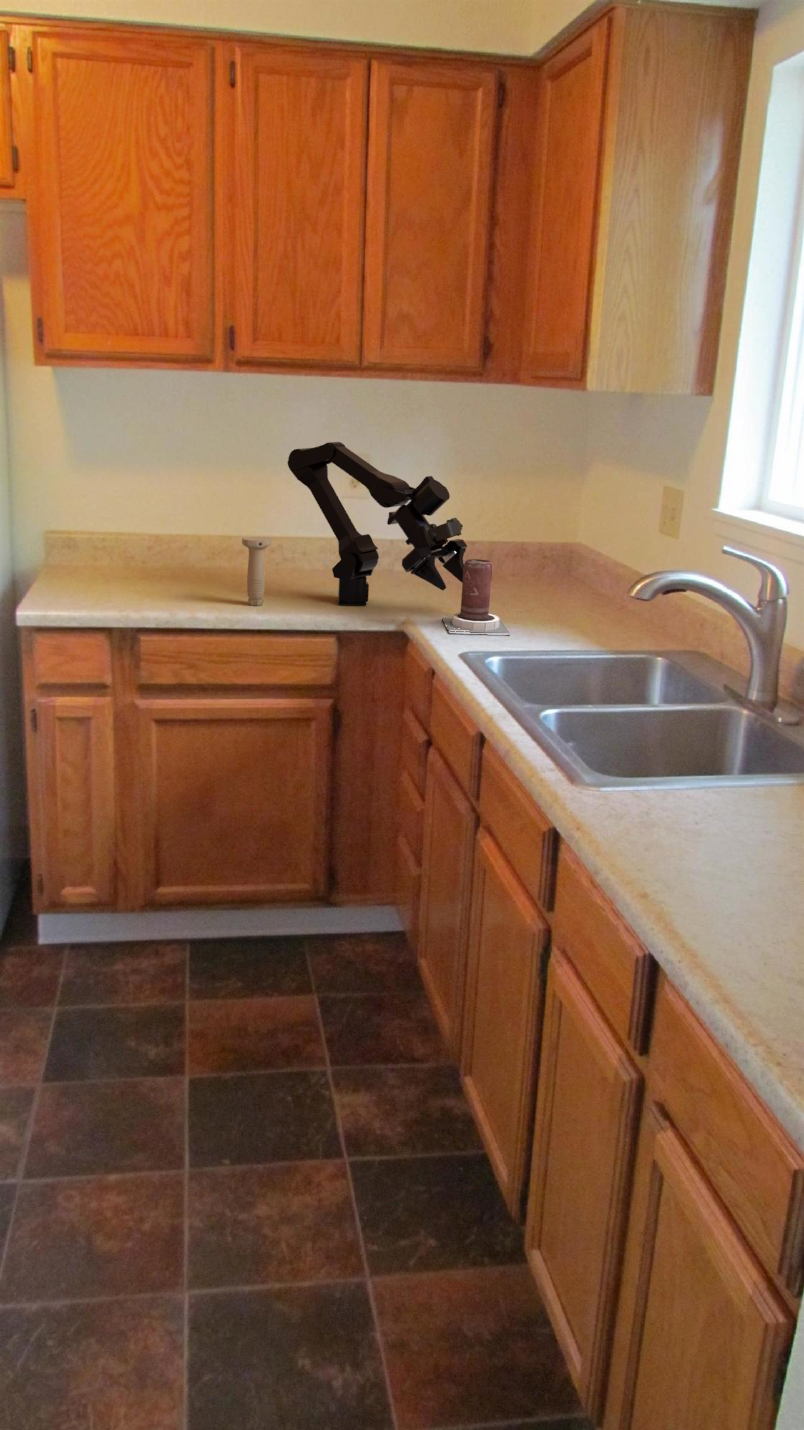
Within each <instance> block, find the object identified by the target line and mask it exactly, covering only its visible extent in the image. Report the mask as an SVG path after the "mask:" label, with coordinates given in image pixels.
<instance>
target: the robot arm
mask: <svg viewBox="0 0 804 1430" xmlns="http://www.w3.org/2000/svg"><path fill="white" fill-rule="evenodd" d="M287 460H288V461H287V467H288V468H289V471H291V473H292V474H293V476H294V478H296V480H298V481H299V482H300V483H302V484H303V485H304V486H306V487H307V488H308V490H309V491H310V493H311V494H312V496H313V498H314V500H315V501H316V504H317V505H318V507H319V509H320V510H321V513H322V514H323V516H324V518H325V519H326V521H327V523H328V525H329V527H330V529H331V530H332V532H333V534H334V535H335V538H336V539H337V543H338V556H339V558H340V560H339V561H338V562H337V563H336V564H335V565H334V566H333V567H332V569H331V571H332V575H333V578H335V579H338V589H337V591H338V593H337V597H336V598H337V604H338V605H339V606H362V607H363V606H367V603H368V602H369V593H370V591H369V589H370V585H369V582H368V581H367V577H370V576H372V574H373V572H374V569H375V568H376V567H377V565H378V562H379V557H380V555H379V553H378V551H377V550H379V547H378V546H376V544H375V543H374V540H373V538H372V537H371V535H370V534H369V533H366V534H361V533H360V532H359V531H358V530H357V529H356V526H355V525H354V524H353V521H352V520H351V518H350V516H349V514H348V512H347V510H346V509H345V507H344V505H343V503H342V501H341V500H340V498H339V496H338V495H337V493H336V491H335V489H334V487H333V485H332V484H331V482H330V480H329V477H328V475H329V474H328V473H329V472H328V470H329V469H328V465H331V464H334V465H335V466H336V467H338V468H339V469H341V471H343V472H345V473H346V474H348V476H350V477H351V478H353V479H354V480H356V481H357V482H359V484H361V485H363V486H364V487H365V488H366V489H367V490H368V492H369V494H370V496H371V497H372V499H373V500H374V502H376V503H377V504H378V505H379V506H381V507H382V508H385V509H387V508H394V507H398V508H397V509H396V510H395V511H389V512H388V518H387V521H386V524H387V525H388V526H390V525H396V524H398V526H399V527H400V529H401V530H402V532H403V533H404V536H406V538H407V539H406V540H405V543H406V545H408V546H410V545H412V547H413V549H412V550H411V551H410V552H408V554H406V555H405V556H404V558H402V559H401V567H402V568H403V569H404V571H405V573H410V574H411V575H414V576H416V577H418V578H420V579H421V580H424V581H426V582H428V583H429V584H431V585H432V586H434V587H436V588H437V589H439V590H441V591H445V590H446V589H447V585H446V582H445V581H444V579H443V577H442V576H441V574H440V572H439V569H437V567H436V559H437V560H438V562H440V563H441V564H442V567H443V568H444V569H445V570H447V572H449V573H450V574H451V575H452V576H453V577H455V578H456V579H457V580H458V581H459V582H461V584H462V583H463V568H464V564H465V562H464V556H465V555H464V554H465V553H466V552H467V548H468V545H467V543H466V542H465V541H464V539H460V538H456V539H455V538H454V539H451V538H453V537H456V536H457V537H459V536H461V535H462V530H463V527H464V525H463V524H462V523H461V522H460V520H458V518H457V517H452V518H451V519H447V520H446V522H445V523H443V524H440V525H437V524H436V523H429V521H428V519H427V518H426V516H429V517H430V516H433V515H434V514H435V513H436V512H437V511H438V510H440V508H441V507H442V506H443V505H444V504H446V503H447V502H448V500H450V498H451V495H450V492H449V490H448V488H447V487H446V486H445V485H443V484H442V483H441V482H440V481H438V480H436V479H434V477H433V475H428V476H425V477H424V478H423V480H422V481H421V482H420V484H418V485H417V486H416V487H413V486H410V484H409V483H408V482H407V481H406V480H404V479H402V478H399V477H397V476H395V475H391V474H387V473H385V472H382V471H381V470H379V469H378V468H376V467H375V466H373V465H371V463H369V462H368V461H366V460H364V458H361V456H359V455H357V454H356V453H355V452H353V451H352V450H351V449H349V448H348V447H346V445H345V444H344V443H343V442H341V441H331V442H328V441H327V442H326V443H324V444H322V445H319V446H315V447H305V448H303V447H302V448H295V449H293V450H291V452H289V455H288V458H287ZM449 539H451V540H449Z"/></svg>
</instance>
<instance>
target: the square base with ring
mask: <svg viewBox="0 0 804 1430" xmlns="http://www.w3.org/2000/svg"><path fill="white" fill-rule="evenodd" d="M460 613H461V611H460V612H455V613H453V614H452V616H451V617H442V619H443V620H444V623H445V624H446V625H447V628H448V630H449V631H450V630H469V631H465V632H470V633H510V631H509V630H508V628H507V627H506V626H505V624H504V623H503V621H502V619H501V618H500V617H499V616H498V615H495V614H491V613H489V615H488V621H470V620H464V619H461V618H460ZM442 619H441V620H442ZM444 623H443V624H444ZM454 628H455V629H454ZM458 628H460V629H458ZM450 632H455V631H450ZM456 632H464V631H456Z"/></svg>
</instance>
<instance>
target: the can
mask: <svg viewBox="0 0 804 1430" xmlns="http://www.w3.org/2000/svg"><path fill="white" fill-rule="evenodd" d="M493 573H494V565H493V563H492V562H491V561H490V560H487V559H486V560H485V559H478V558H475V559H474V558H471V559H466V560H465V562H464V568H463V583H462V582H461V584H462V586H461V597H460V598H461V601H460V612H461V613H460V618H461V619H464V620H470V621H488V615H489V614H490V601H491V600H490V599H491V590H492V589H491V587H492V580H493V579H492V578H493V575H494V574H493Z"/></svg>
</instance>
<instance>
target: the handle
mask: <svg viewBox="0 0 804 1430" xmlns="http://www.w3.org/2000/svg"><path fill="white" fill-rule="evenodd" d="M241 544H242V546H244V547H246V548H247V549H248V564H247V565H248V566H247V576H246V578H247V580H246V589H247V592H246V593H247V597H248V599H247V603H248V605H250V606H255V607H259V606H262V605H263V603H264V599H263V598H264V596H265V595H264V594H265V587H266V586H265V585H266V580H265V579H266V575H265V549H266V548H268V547H270V546H271V544H272V538H270V537H265V536H246V537H242V538H241Z"/></svg>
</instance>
